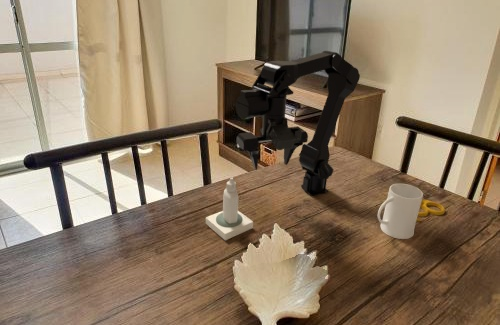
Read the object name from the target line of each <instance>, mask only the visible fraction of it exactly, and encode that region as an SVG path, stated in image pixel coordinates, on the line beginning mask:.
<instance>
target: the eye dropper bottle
mask: <svg viewBox="0 0 500 325" xmlns="http://www.w3.org/2000/svg"><path fill="white" fill-rule="evenodd" d="M222 201H223V202H222V211H223V218H224V220H225V221H226V222H227V223H229V224H231V223H236V222H237V215H238V211H239V193H238V191H237V182H236V181H234V177H230V178H229V180H228V181H226V187H225V189H224V191H223V198H222Z"/></svg>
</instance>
